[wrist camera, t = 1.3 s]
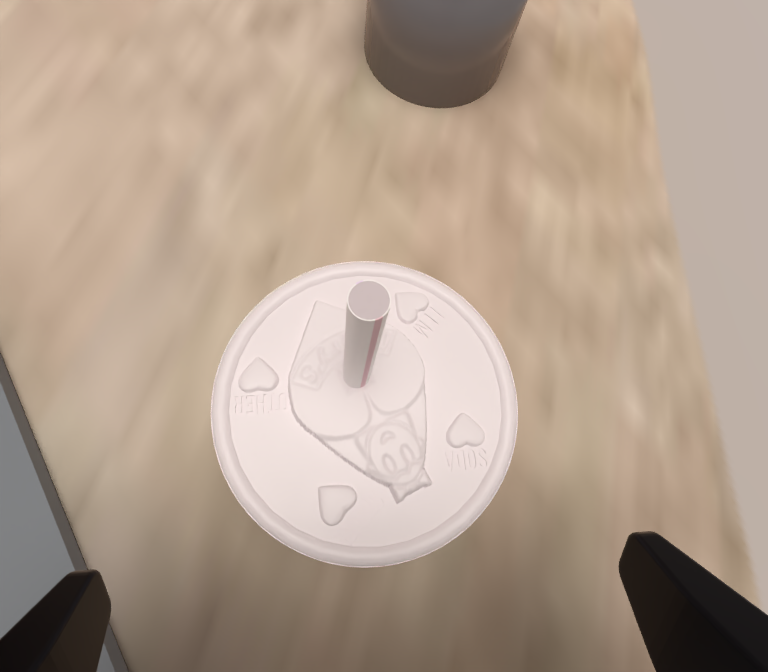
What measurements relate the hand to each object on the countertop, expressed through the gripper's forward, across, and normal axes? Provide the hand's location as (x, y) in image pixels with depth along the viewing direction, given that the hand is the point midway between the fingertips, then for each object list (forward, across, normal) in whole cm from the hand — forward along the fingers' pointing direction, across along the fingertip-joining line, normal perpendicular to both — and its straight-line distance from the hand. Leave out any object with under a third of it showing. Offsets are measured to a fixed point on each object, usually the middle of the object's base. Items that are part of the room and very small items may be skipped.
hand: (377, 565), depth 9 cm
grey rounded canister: (+23, -5, -8) cm, 25 cm away
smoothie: (+10, 0, +6) cm, 11 cm away
